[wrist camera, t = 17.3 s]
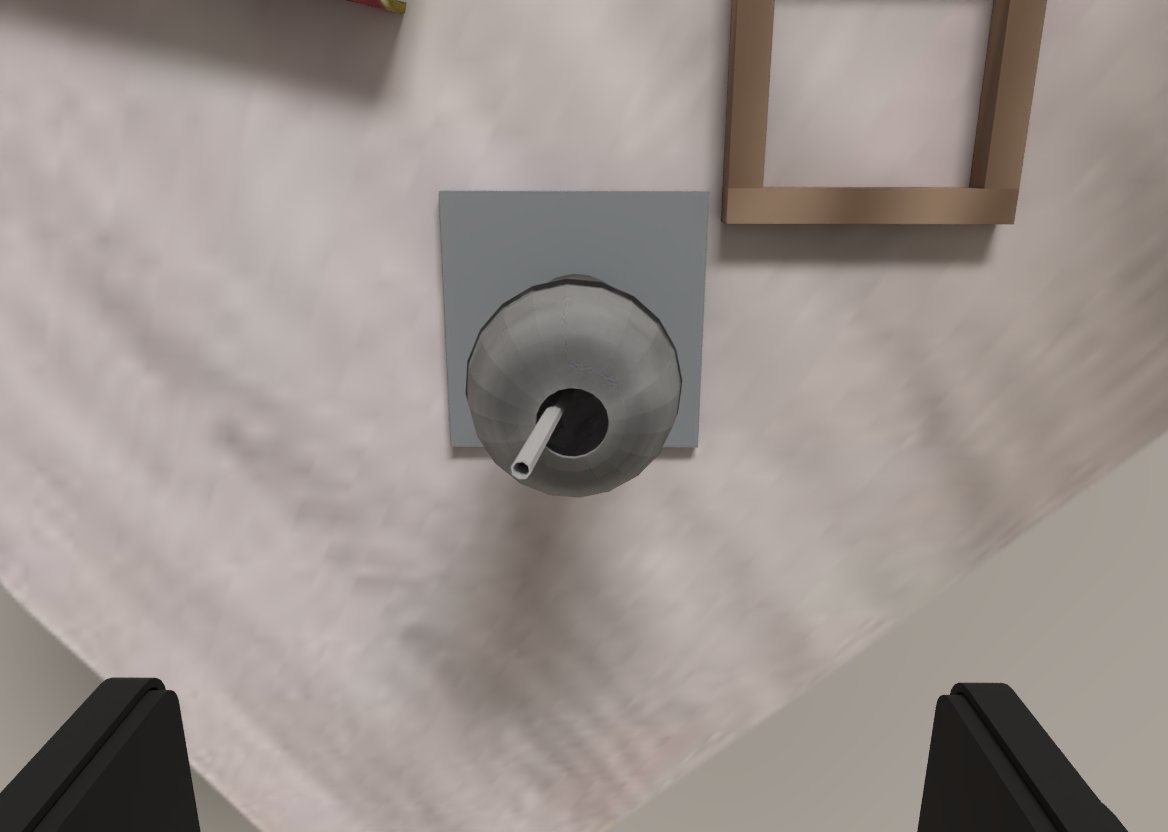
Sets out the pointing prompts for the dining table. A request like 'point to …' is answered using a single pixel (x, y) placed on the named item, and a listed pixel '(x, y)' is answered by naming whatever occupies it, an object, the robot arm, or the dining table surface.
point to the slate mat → (574, 270)
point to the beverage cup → (573, 386)
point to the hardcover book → (384, 4)
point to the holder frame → (979, 204)
